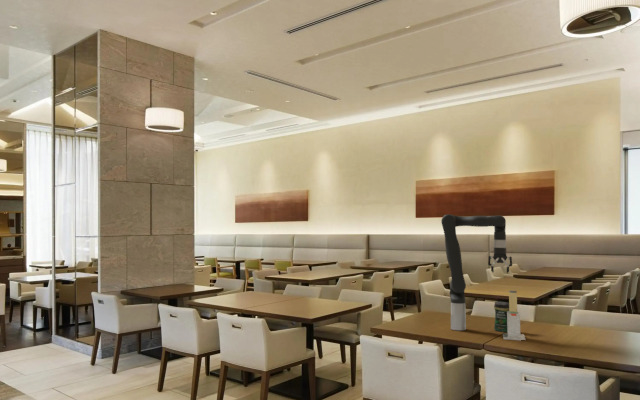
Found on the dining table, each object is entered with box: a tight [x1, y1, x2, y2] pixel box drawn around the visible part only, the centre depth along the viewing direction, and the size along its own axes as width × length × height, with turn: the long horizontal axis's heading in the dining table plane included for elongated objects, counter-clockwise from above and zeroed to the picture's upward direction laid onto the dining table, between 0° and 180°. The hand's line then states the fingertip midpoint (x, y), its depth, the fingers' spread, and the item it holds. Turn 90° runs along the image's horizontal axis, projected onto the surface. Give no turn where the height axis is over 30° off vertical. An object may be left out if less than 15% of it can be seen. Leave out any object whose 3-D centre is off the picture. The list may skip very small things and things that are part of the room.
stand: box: [502, 311, 526, 341], centre depth 287 cm, size 12×12×15 cm
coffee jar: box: [493, 301, 509, 333], centre depth 307 cm, size 10×8×19 cm
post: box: [508, 290, 518, 313], centre depth 288 cm, size 4×4×21 cm
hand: (500, 272), depth 303 cm, fingers open, 8 cm apart
